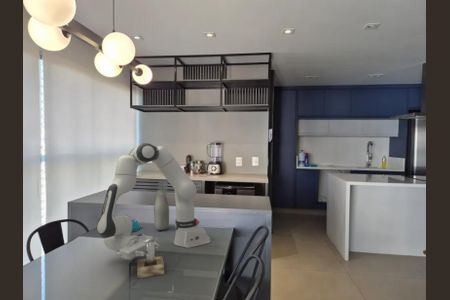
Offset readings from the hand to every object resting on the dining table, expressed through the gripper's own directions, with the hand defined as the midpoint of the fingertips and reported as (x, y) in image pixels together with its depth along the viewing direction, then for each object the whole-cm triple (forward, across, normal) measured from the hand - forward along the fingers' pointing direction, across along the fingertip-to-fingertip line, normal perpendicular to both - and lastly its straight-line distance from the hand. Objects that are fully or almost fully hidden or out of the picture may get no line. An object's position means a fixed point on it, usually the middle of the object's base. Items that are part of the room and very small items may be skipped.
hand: (151, 250), depth 125 cm
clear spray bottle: (-1, 0, +10) cm, 10 cm away
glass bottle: (-34, +47, +10) cm, 59 cm away
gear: (-51, +38, +10) cm, 64 cm away
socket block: (-1, 0, +10) cm, 10 cm away
